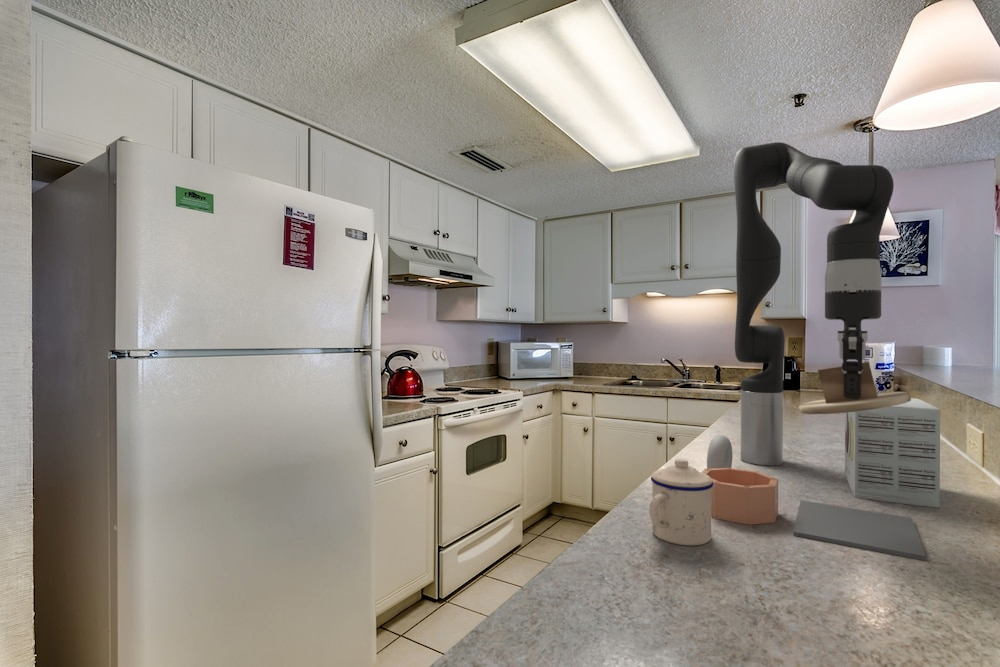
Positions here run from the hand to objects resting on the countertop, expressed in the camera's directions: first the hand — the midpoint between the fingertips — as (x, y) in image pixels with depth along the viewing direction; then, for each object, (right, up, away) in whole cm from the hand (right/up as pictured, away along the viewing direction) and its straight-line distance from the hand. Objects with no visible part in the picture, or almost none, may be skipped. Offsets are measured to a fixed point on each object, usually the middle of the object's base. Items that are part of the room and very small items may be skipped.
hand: (852, 396), depth 83 cm
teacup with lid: (-30, -21, -4) cm, 37 cm away
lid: (0, -1, 0) cm, 1 cm away
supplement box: (+21, -21, +20) cm, 36 cm away
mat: (0, -21, 0) cm, 21 cm away
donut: (-11, -21, +25) cm, 35 cm away
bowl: (-15, -21, +8) cm, 27 cm away
